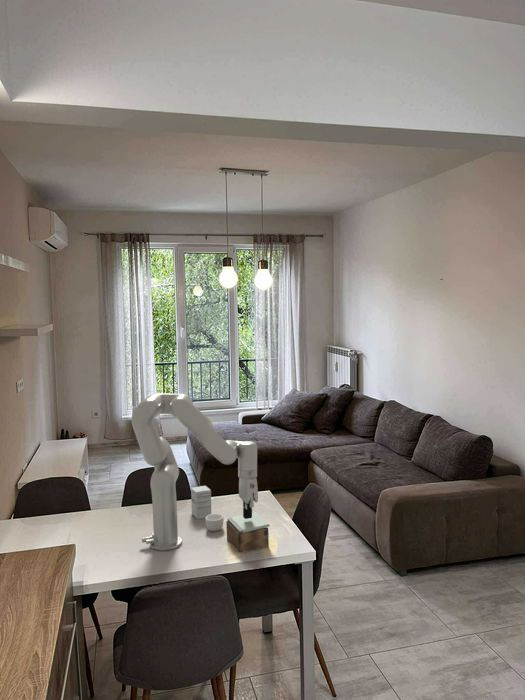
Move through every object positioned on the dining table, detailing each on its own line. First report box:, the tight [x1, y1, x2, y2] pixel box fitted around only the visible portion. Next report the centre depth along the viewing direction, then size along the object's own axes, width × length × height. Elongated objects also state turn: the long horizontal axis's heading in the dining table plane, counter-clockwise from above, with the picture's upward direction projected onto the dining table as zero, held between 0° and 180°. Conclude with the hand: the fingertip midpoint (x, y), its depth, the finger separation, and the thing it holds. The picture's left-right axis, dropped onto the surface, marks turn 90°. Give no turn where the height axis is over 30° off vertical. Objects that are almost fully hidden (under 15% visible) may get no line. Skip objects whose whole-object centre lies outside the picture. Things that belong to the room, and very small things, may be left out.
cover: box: [227, 511, 270, 533], centre depth 220 cm, size 12×14×1 cm
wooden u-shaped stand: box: [225, 520, 270, 554], centre depth 220 cm, size 12×15×8 cm
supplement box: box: [190, 485, 212, 520], centre depth 251 cm, size 7×7×13 cm
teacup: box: [204, 513, 225, 532], centre depth 236 cm, size 10×8×5 cm
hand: (247, 517), depth 220 cm, fingers closed
